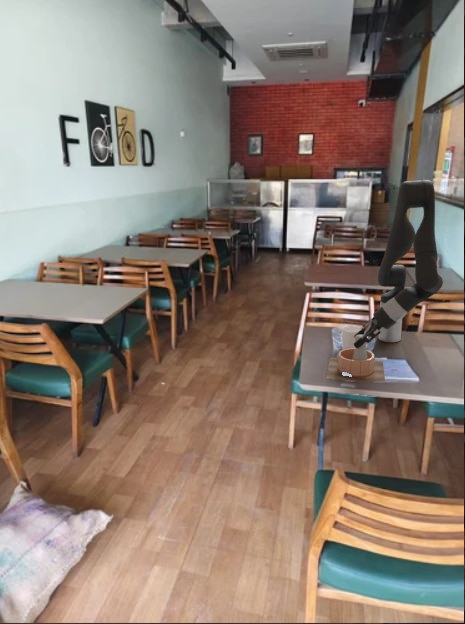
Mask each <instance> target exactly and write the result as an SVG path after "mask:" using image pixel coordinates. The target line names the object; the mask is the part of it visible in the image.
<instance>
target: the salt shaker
mask: <svg viewBox="0 0 465 624" xmlns="http://www.w3.org/2000/svg"><path fill="white" fill-rule="evenodd" d="M362 336H363V335H356V336H355V341H357V340H359V339H360V338H361V337H362ZM366 338H368V336H367V337H366ZM367 359H368V358H367V343H366V342H365V343H364V344H363V345H362V346H361V347H359V348H356V347H355V351H354V355H353V359H352V360H367Z"/></svg>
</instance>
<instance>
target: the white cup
mask: <svg viewBox="0 0 465 624" xmlns="http://www.w3.org/2000/svg"><path fill="white" fill-rule="evenodd" d="M361 329H362V327H359V326H355V325H354V326H353V325H347V326H343V327H342V329H341V338H342V339H341V340H342V342H341V343H342V350H343V349H350V348H355V346H354V343H355V342H356V341H355V337H354V335H355V334H357V333H358V332H359V331H360V330H361Z"/></svg>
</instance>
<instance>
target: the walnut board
mask: <svg viewBox="0 0 465 624" xmlns="http://www.w3.org/2000/svg"><path fill="white" fill-rule="evenodd" d="M384 366H385V365H384V361H383V360H374V370H373V373H372V374H371V375H368V376H363V377H354V376H352V377H349V376H343V375H342V373H341V372H340V371H339V370H338V357H330V358H329V360H328V366H327V373H326V379H325V380H335V381H349V382H350V381H351V382H360V383H361V382H362V383H375V384H384V385H385V384H386V377H385V376H386V375H385V367H384Z"/></svg>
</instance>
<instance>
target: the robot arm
mask: <svg viewBox="0 0 465 624" xmlns="http://www.w3.org/2000/svg"><path fill="white" fill-rule="evenodd" d="M397 193H398V194H397V199H396V204H395V210H394V216H393V219H392V224H391V228H390V231H389V234H388V238H387V242H386V247H385V251H384V255H383V258H382V261H381V263H380V266H379V269H378V272H377V273H378V274H377V282H378V283H377V284H378V285H379V286H381V287H383V288H384V287H385V288H386V287H387V288H389V287H390V288H391V287H393V288H392V289H391V290H389V291H388V292H385V293H382V294H381V295H380V305H379V306H380V307H379V308H378V309H377V310H376V311H374V312H373V317H372V318H371V319H369V320H368V321H367V322H366V323H364V324H363V325H362V327H361V330H360V331H359V332H358V333H357V334H355V335H354V337H355V336H356V335H363V336H362V337H361V338H360V339H359V340H357V341H356V342H355V343H354V346H355V347H356V348H359V347H361V346H362V345H363V344H364V343H365V342H366V344H369V343H370V342H371V341H373V340H374V339H375V338H376V337H378V339H379V341H382V342H385V343H397V342H400V341H401V339H402V337H401V336H402V324H403V319H404V318H405V316H406V315H407V314H408V313H409V312H411V311H412V310H413V309H415V307H417V306H418V305H419V304H420V303H422V302H424V301H426V300H428V299H429V298H430V297H433V296H434V295H435V294H436V293H438V292H439V291H440V290H441V288H442V287H443V283H444V280H443V277H442V276H441V275H440V274H439V273H438V267H437V261H438V250H437V241H436V234H435V233H436V230H435V228H436V227H435V225H436V191H435V186H434V183H433V182H432V180H430V179H421V180H408V181H403V182H402V183H401V185H400V187H399V190H398V192H397ZM416 208H417V209H418V208H422V209H423V217H422V220H421V222H420V224H419V227H418V228H417V230H416V231H415V228H414V226H413V224H412V222H411V221H410V220H409V218H408V217H409V216H408V214H407V213H408V210H409V209H416ZM412 246H413V254H414V260H415V267H414V270H415V271H414V276H415V283H414V284H413V285H411V286H410V287H406V279H407V270H406V267H405V265H404V264H396V263H397V262H398V261H399V260H401V259H402V258H403V257H405V256H406V255H407V254H409V252H410V251H411V249H412ZM405 287H406V288H405ZM366 337H367V338H366Z"/></svg>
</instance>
